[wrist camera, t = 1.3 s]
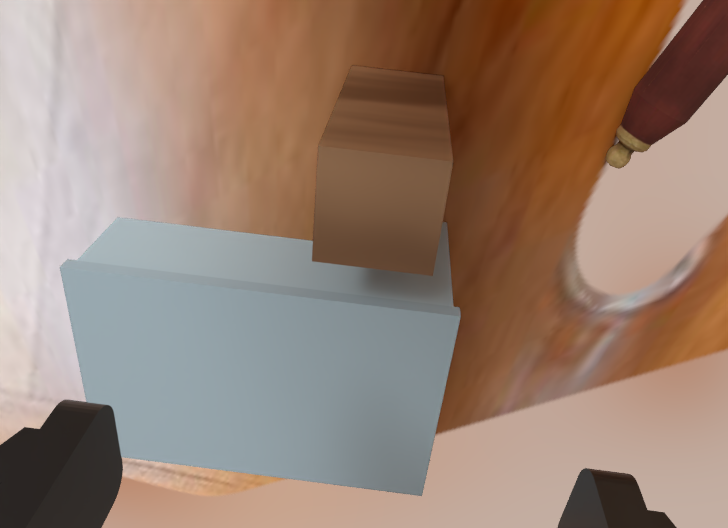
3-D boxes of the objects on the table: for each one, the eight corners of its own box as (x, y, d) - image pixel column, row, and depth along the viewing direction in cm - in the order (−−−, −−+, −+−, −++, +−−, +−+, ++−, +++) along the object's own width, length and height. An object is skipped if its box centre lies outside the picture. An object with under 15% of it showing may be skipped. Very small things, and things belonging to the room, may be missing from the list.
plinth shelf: (142, 182, 30) (59, 267, 23) (451, 219, 30) (460, 316, 23) (159, 345, 36) (96, 454, 29) (422, 378, 35) (421, 496, 28)
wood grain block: (351, 65, 27) (318, 145, 18) (443, 75, 26) (453, 161, 18) (329, 350, 35) (298, 498, 26) (398, 359, 35) (390, 510, 26)
